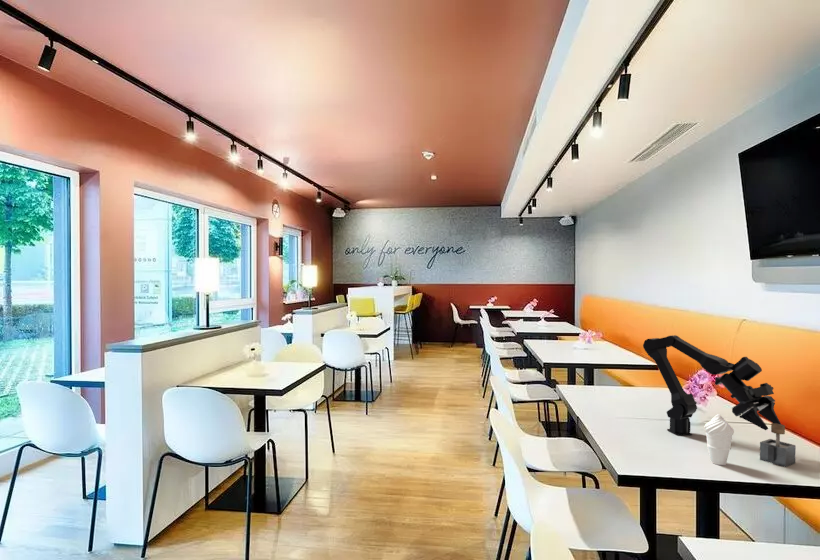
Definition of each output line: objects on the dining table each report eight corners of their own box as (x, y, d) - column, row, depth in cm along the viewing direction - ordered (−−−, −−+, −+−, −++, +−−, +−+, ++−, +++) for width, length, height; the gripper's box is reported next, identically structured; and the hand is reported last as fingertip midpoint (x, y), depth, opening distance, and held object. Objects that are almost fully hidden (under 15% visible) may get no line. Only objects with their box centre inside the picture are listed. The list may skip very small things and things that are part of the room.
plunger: (764, 446, 157) (765, 423, 157) (772, 443, 160) (772, 421, 160) (783, 451, 153) (783, 428, 153) (790, 448, 155) (790, 425, 155)
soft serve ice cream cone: (734, 470, 148) (735, 419, 148) (703, 464, 153) (704, 415, 153) (732, 461, 156) (733, 413, 156) (703, 456, 160) (704, 409, 160)
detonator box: (758, 460, 157) (758, 442, 157) (770, 456, 161) (770, 438, 161) (783, 467, 151) (783, 449, 151) (795, 463, 155) (795, 445, 155)
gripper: (742, 377, 158) (780, 418, 148) (768, 373, 167) (806, 411, 157) (717, 396, 164) (752, 436, 155) (744, 390, 174) (778, 428, 164)
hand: (773, 427), depth 157 cm, fingers open, 9 cm apart
